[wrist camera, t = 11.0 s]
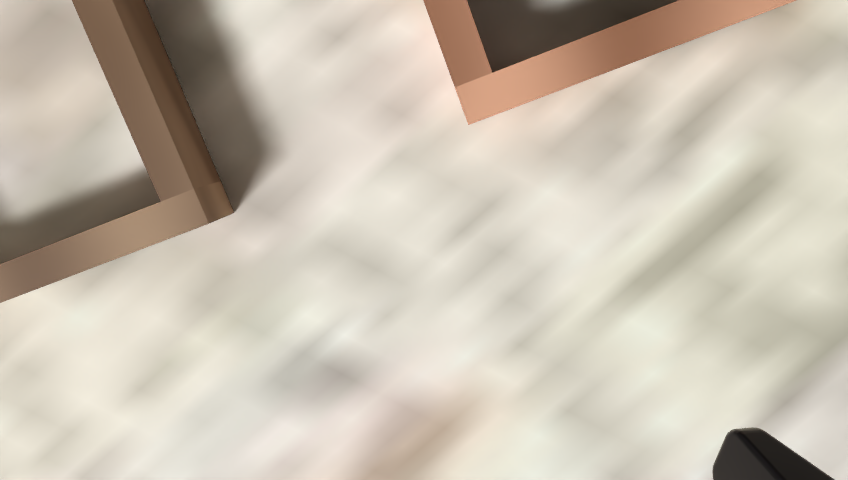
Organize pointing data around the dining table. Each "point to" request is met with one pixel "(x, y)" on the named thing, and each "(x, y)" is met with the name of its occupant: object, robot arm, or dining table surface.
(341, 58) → the dining table surface
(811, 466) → the robot arm
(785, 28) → the dining table surface
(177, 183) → the socket rail
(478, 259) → the dining table surface
